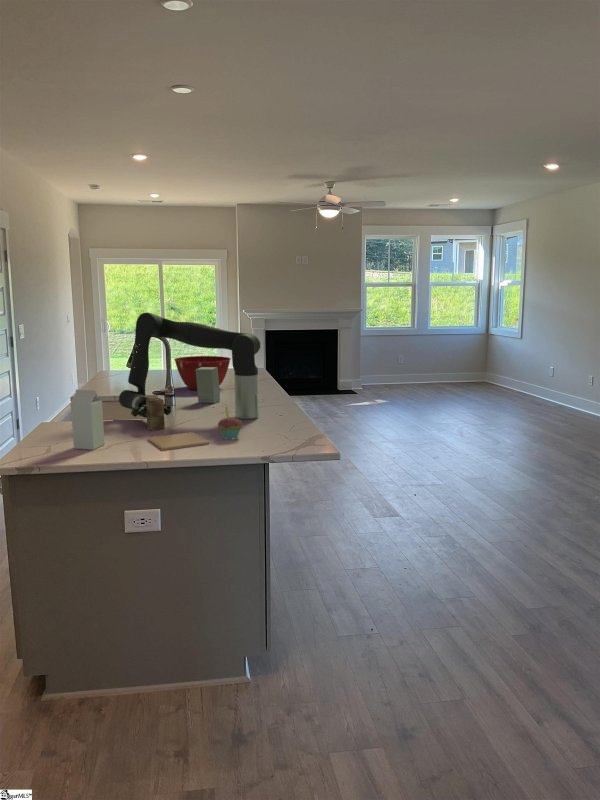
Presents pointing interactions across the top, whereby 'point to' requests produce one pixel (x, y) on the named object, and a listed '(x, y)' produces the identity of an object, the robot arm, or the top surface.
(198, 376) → the skincare box
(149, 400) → the walnut block
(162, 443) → the wooden square board
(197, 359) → the mixing bowl
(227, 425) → the cupcake
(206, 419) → the top surface
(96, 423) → the milk carton
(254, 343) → the robot arm
